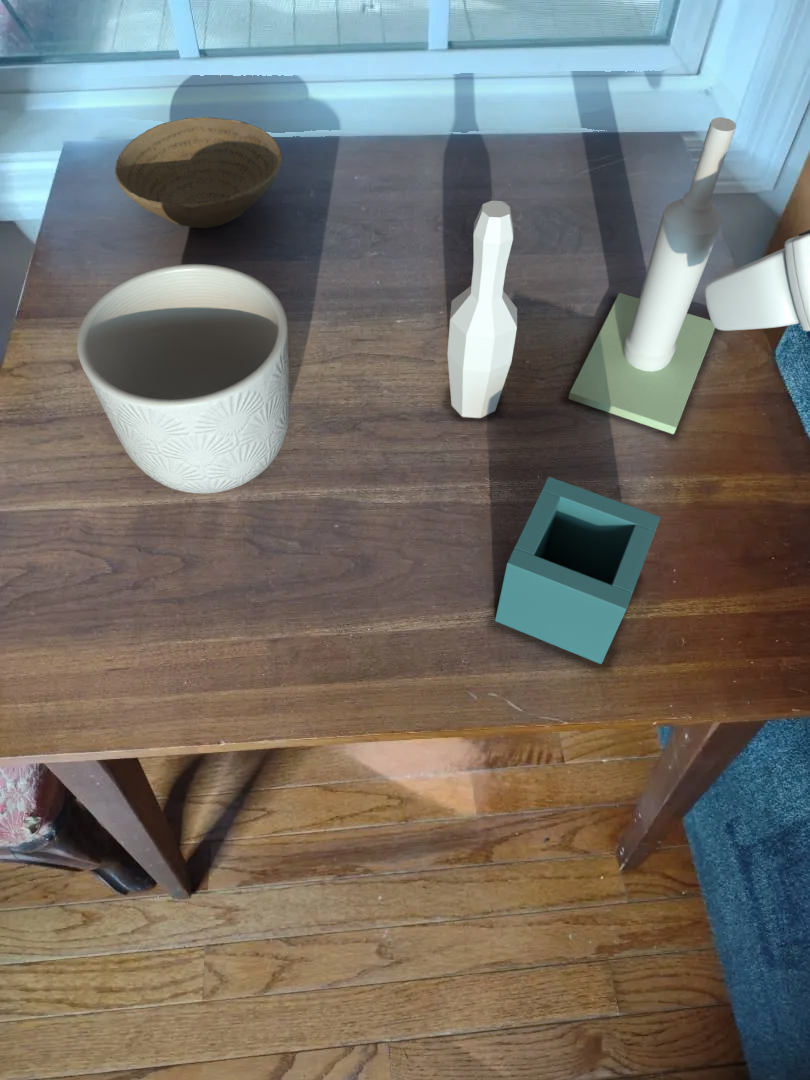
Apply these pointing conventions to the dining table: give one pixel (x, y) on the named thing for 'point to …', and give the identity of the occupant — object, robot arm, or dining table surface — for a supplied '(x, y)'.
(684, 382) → the mat
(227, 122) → the bowl
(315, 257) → the dining table surface
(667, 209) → the bottle
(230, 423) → the planter
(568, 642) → the holster
